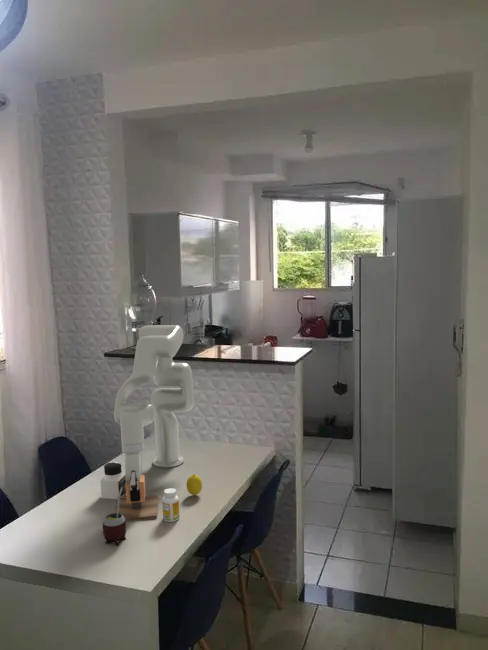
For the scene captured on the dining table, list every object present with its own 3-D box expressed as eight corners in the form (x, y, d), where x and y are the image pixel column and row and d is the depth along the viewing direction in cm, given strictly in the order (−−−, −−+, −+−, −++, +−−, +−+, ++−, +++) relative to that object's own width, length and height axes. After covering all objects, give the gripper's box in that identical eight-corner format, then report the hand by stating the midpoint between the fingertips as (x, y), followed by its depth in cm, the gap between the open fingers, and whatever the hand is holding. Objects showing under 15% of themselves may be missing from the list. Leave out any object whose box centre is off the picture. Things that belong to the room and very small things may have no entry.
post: (132, 504, 195) (132, 491, 194) (141, 504, 195) (140, 490, 194) (132, 508, 192) (131, 494, 191) (141, 508, 192) (140, 494, 192)
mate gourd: (106, 549, 168) (102, 501, 166) (101, 537, 176) (98, 491, 173) (130, 543, 171) (127, 496, 169) (125, 531, 178) (122, 486, 176)
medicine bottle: (119, 499, 201) (117, 467, 200) (101, 498, 203) (98, 466, 201) (127, 491, 208) (125, 460, 207) (109, 490, 210) (107, 459, 208)
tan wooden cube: (128, 495, 196) (127, 476, 195) (145, 494, 196) (144, 474, 195) (126, 503, 190) (125, 483, 189) (144, 501, 190) (143, 481, 189)
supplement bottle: (179, 513, 189) (177, 486, 188) (180, 521, 184) (178, 493, 183) (162, 515, 188) (161, 488, 187) (163, 523, 183) (161, 495, 182)
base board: (118, 500, 201) (118, 497, 201) (158, 497, 202) (158, 494, 202) (113, 522, 185) (113, 519, 185) (156, 518, 187) (156, 515, 186)
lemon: (183, 496, 203) (182, 475, 202) (195, 491, 207) (194, 470, 206) (194, 500, 199) (193, 478, 198) (205, 495, 203) (204, 474, 202)
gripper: (124, 438, 199) (127, 487, 201) (119, 456, 182) (122, 509, 184) (145, 437, 199) (148, 485, 202) (142, 454, 182) (145, 507, 185)
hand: (136, 496), depth 193 cm, fingers closed on tan wooden cube, 5 cm apart
